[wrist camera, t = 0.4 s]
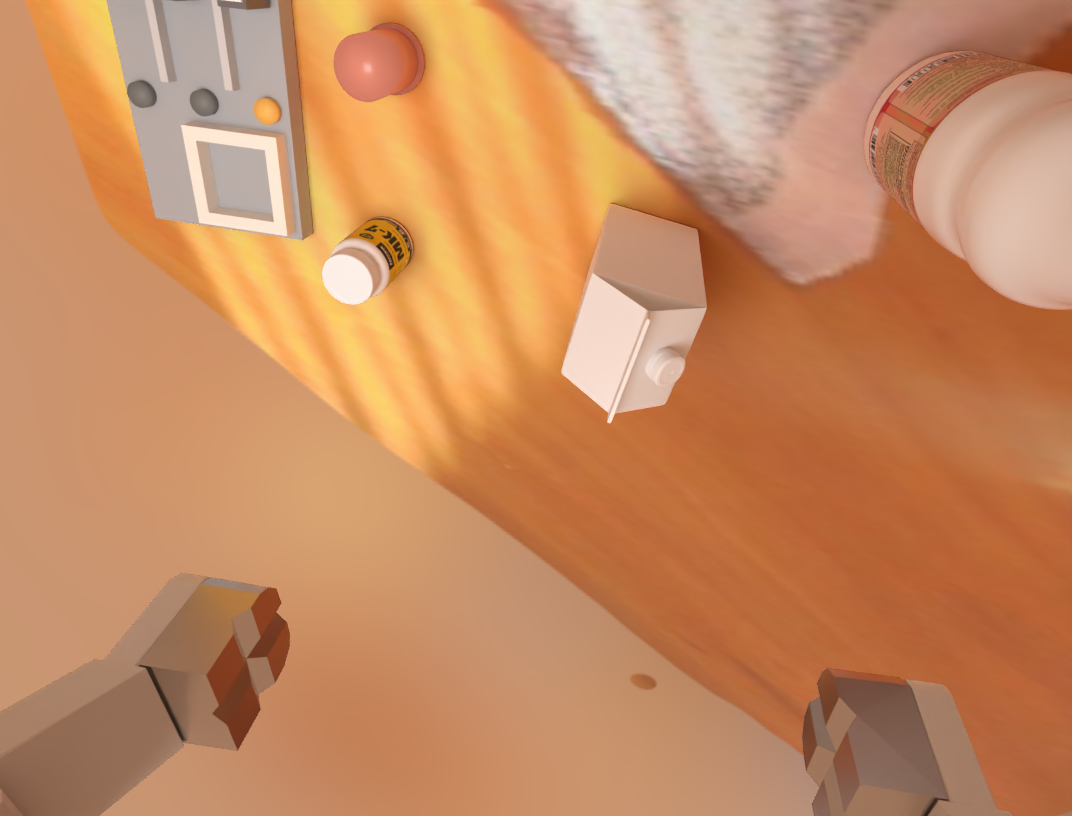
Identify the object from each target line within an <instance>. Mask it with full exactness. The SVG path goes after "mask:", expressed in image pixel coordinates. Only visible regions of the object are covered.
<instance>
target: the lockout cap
mask: <svg viewBox="0 0 1072 816" xmlns="http://www.w3.org/2000/svg"><path fill="white" fill-rule="evenodd" d="M424 69H425V57H424V52H423V49H422V46H421V44H420V42H419V40H418V39H417V38H416V36H415V35H414V34H413V33H412V32H411V31H410V30H409V29H407V28H406V27H404V26H402V25H399V24H396V23H385V24H380V25H377V26H375V27H374V28H372V29H371V30H370V31H368V32H362V33H357V34H352V35H349V36H347V37H346V38H344V39H343V40H342V41H341V42H340V43H339V45H338V47H337V49H336V51H335V55H334V70H335V74H336V77H337V79H338V81H339V83H340V85H341V87H342V88H343V89H344V90H345V91H346V92H347V93H348V94H349V95H350V96H351V97H353V98H355V99H357V100H359V101H363V102H373V101H376V100H379V99H381V98H384V97H386V96H388V95H402V94H405V93H407V92H409V91H411V90H413V89H414V88H415V87H416V86H417V85H418V84H419V82H420V81H421V79H422V77H423V74H424Z"/></svg>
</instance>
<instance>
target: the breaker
mask: <svg viewBox="0 0 1072 816" xmlns="http://www.w3.org/2000/svg"><path fill="white" fill-rule="evenodd" d="M217 4H218V6H220V7H228V8H236V9H244V10H251V9H264V8H270V7H269V0H217Z"/></svg>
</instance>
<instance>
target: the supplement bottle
mask: <svg viewBox="0 0 1072 816" xmlns="http://www.w3.org/2000/svg"><path fill="white" fill-rule="evenodd" d="M412 254H413V244H412V240H411V237H410V235H409V234H408V232H407V231H406V229H405V228H404V227H403V226H402V225H401V224H399V223H398V222H396V221H394V220H392V219H390V218H386V217H376V218H373V219H370V220H369V221H367V222H366V223H364V224H363V225H362V226H360V227H359V228H358V229H357V230H355V231H354V232H353V233H351V234H350V235H349V236H348V237H346V238H345V239H344V240H342V241H341V242H340V243H339V244H338V245H337V246H336V247H335V248H334V250H333V252H332V254H331V257H330V258H329V259H328V260H327V261H326V262H325V264H324V266H323V270H322V278H323V282H324V285H325V287H326V289H327V290H328V292H329V293H330V294H331V295H332V296H333V297H334V298H336V299H337V300H339V301H340V302H343V303H345V304H350V305H356V304H361V303H363V302H365V301H366V300H367V299H369V298H370V297H374V296H376V295H378V294H380V293H381V292H382V291H384V290H385V288H386V287H387V286H388V285H389V284H390V283H391V282H392V281H393V280H394V279H395V278H396V277H397V275H398V274H399V273H400V272H401V271H402V270H403V269H404V268H405V267H406V266H407V265H408V263H409V262H410V260H411V257H412Z"/></svg>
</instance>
